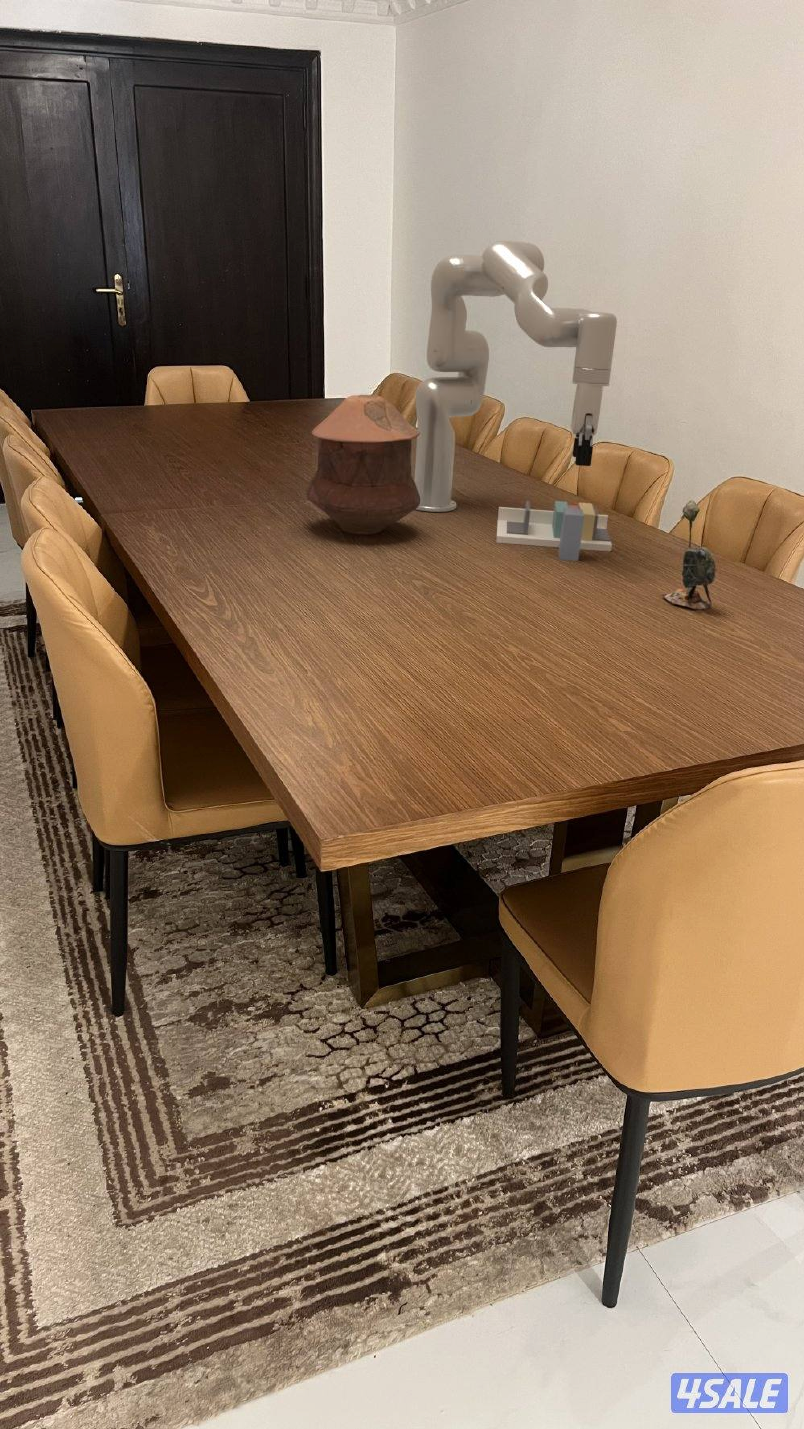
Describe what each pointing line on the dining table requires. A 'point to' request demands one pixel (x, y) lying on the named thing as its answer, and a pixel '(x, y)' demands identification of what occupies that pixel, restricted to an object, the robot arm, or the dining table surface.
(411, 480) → the pottery vessel
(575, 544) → the boxed book
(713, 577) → the green and brown figurine
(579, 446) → the robot arm
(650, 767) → the dining table surface
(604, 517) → the book shelf
